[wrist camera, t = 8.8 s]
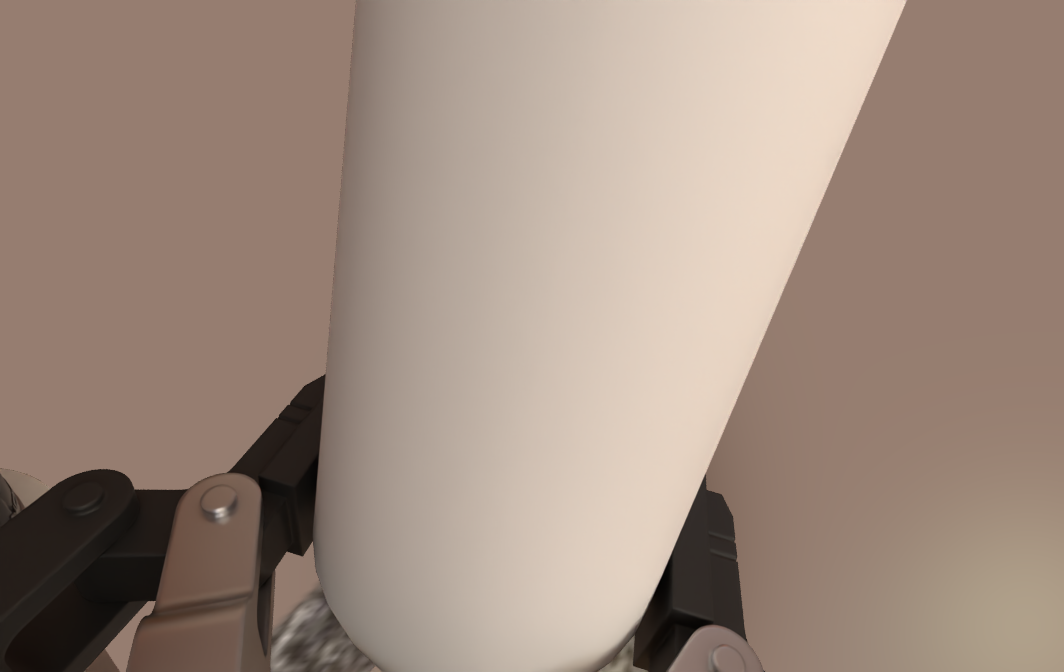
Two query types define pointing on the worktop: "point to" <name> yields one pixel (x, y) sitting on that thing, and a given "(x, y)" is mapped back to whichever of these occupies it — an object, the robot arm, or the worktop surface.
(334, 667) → the worktop surface
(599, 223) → the champagne flute
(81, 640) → the robot arm
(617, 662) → the worktop surface
